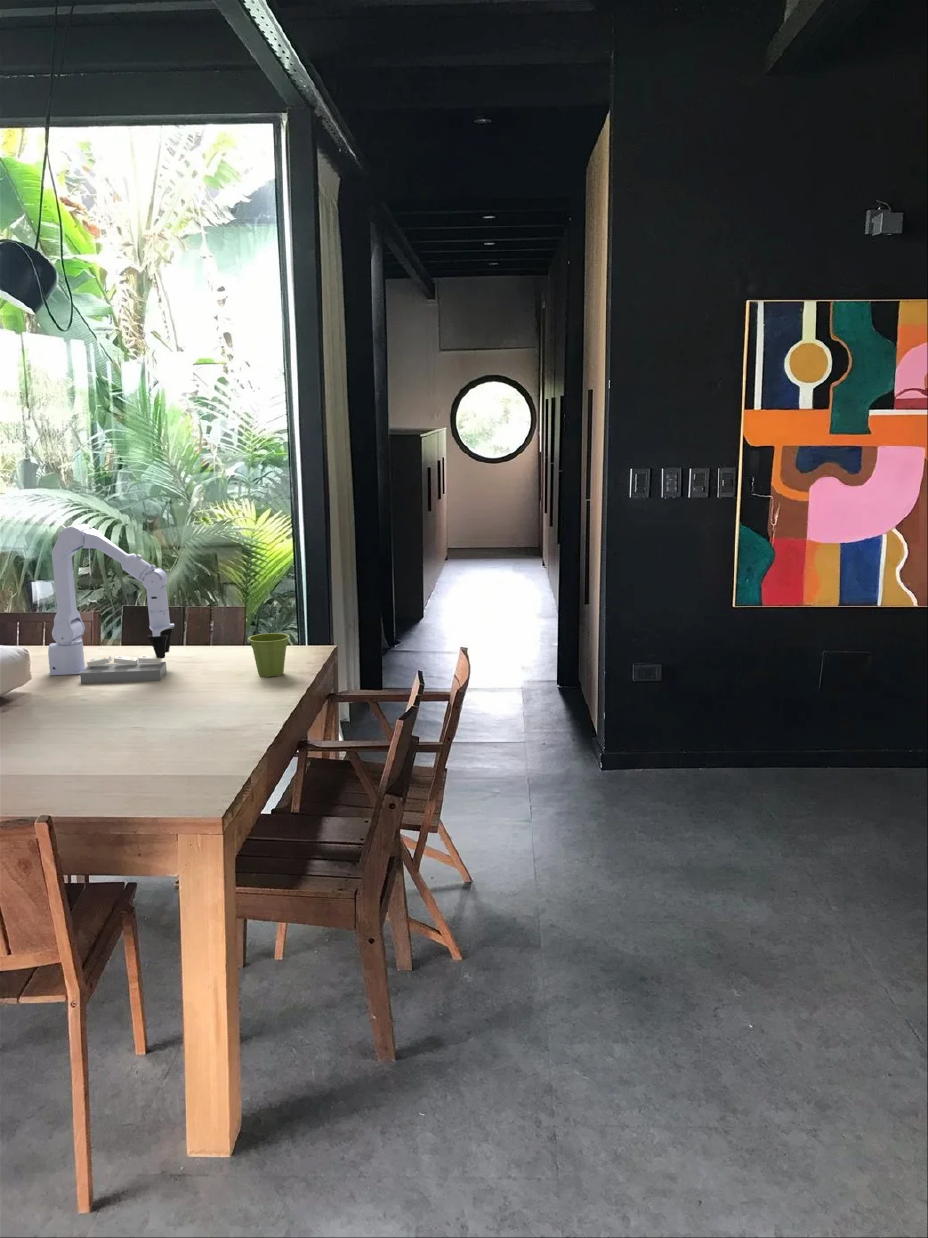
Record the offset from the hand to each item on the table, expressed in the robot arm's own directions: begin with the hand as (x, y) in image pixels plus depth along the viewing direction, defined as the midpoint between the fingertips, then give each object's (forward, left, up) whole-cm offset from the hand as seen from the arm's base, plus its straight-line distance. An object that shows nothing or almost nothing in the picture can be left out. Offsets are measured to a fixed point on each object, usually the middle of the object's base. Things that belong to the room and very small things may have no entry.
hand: (163, 655), depth 288 cm
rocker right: (-3, -3, -2) cm, 5 cm away
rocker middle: (-10, -3, -2) cm, 11 cm away
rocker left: (-17, -3, -2) cm, 18 cm away
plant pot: (+32, -8, -5) cm, 33 cm away
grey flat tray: (-10, -5, -5) cm, 13 cm away
